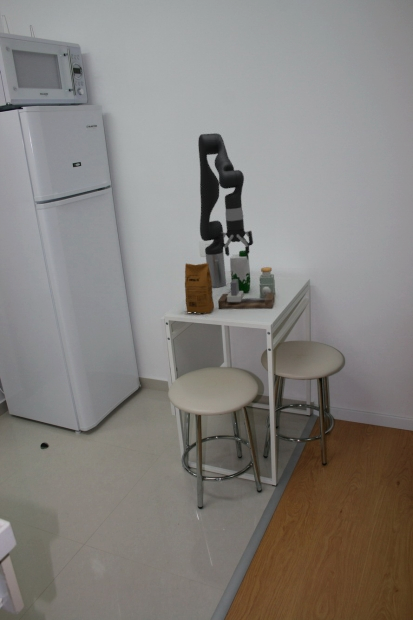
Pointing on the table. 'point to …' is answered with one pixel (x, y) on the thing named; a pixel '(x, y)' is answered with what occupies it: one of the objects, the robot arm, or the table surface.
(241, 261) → the milk carton
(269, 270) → the button
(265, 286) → the cabinet
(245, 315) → the table surface
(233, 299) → the carriage
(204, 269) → the coffee package
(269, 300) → the rail bed
